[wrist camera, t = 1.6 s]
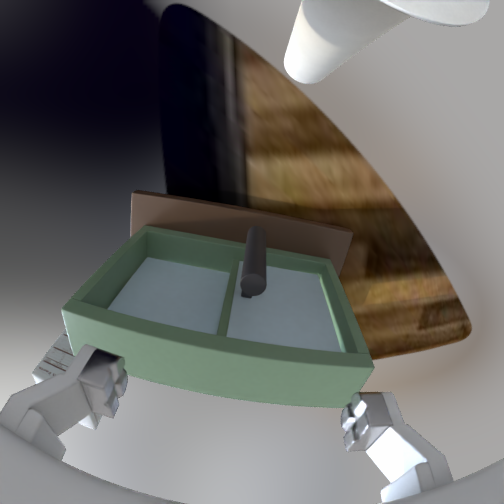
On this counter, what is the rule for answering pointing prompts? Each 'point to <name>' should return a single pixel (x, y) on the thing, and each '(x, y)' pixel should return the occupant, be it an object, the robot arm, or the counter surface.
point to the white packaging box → (61, 370)
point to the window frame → (215, 304)
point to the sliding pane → (275, 303)
